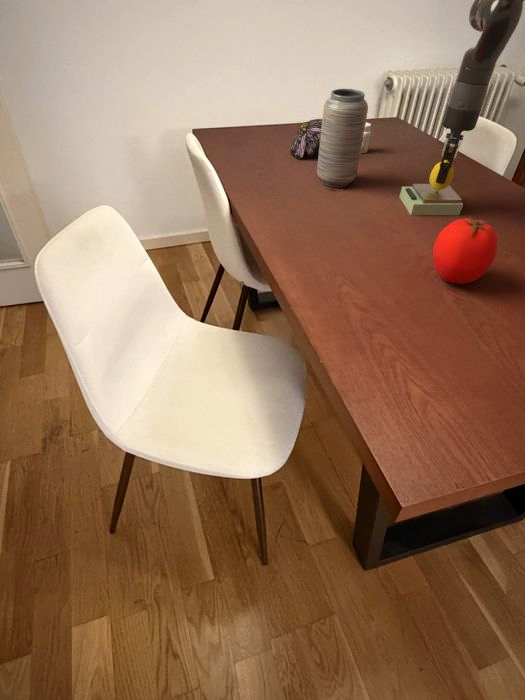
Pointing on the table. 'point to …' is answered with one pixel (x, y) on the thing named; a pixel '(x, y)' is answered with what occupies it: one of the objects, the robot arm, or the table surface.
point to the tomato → (464, 250)
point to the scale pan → (436, 194)
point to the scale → (427, 205)
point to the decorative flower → (307, 139)
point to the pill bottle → (366, 138)
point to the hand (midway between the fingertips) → (441, 178)
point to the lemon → (435, 173)
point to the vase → (341, 137)
